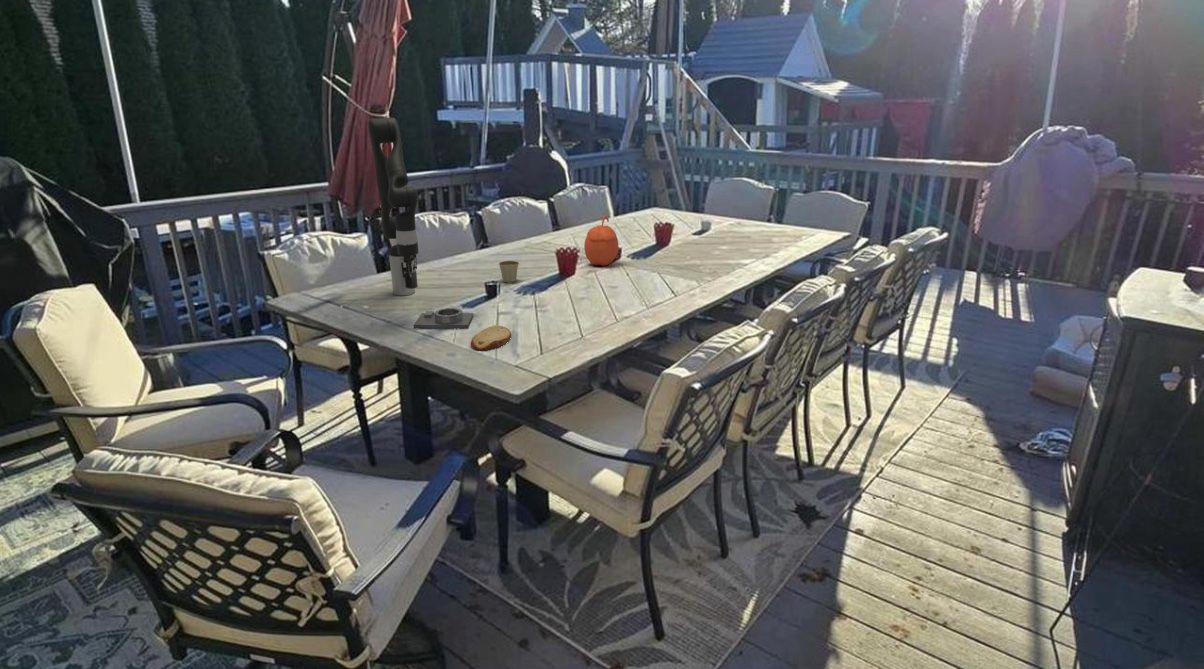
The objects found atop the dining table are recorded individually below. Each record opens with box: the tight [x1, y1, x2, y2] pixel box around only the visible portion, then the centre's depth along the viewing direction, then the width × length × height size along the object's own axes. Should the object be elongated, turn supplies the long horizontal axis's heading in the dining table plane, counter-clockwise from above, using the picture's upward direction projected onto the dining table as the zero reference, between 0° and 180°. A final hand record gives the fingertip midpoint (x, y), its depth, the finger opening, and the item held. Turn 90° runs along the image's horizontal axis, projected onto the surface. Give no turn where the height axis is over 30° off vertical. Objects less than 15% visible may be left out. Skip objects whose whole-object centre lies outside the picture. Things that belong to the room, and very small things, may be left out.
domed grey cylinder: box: [404, 270, 419, 289], centre depth 249 cm, size 6×5×6 cm
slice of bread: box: [469, 324, 512, 352], centre depth 232 cm, size 18×18×4 cm
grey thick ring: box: [434, 307, 464, 324], centre depth 247 cm, size 10×10×3 cm
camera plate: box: [413, 310, 475, 330], centre depth 248 cm, size 14×20×3 cm
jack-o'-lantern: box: [584, 215, 619, 267], centre depth 330 cm, size 18×17×25 cm
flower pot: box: [498, 260, 520, 284], centre depth 302 cm, size 9×9×9 cm
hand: (411, 284), depth 250 cm, fingers closed on domed grey cylinder, 6 cm apart
